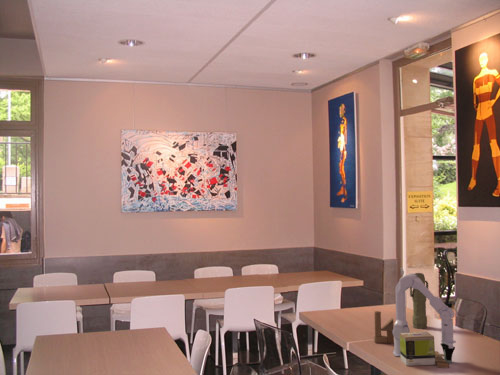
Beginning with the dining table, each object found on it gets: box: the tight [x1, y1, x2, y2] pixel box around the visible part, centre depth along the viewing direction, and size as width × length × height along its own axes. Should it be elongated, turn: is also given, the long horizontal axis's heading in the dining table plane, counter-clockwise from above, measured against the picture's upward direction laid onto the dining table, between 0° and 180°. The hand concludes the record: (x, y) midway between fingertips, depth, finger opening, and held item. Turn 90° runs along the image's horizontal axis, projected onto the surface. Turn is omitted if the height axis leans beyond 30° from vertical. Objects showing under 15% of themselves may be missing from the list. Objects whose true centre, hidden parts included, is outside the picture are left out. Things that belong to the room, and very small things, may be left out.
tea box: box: [400, 331, 436, 367], centre depth 284 cm, size 15×10×15 cm, turn 92°
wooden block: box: [373, 310, 394, 344], centre depth 324 cm, size 4×11×18 cm, turn 85°
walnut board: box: [435, 350, 450, 369], centre depth 287 cm, size 24×5×2 cm, turn 174°
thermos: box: [409, 272, 429, 330], centre depth 360 cm, size 9×12×35 cm
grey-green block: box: [437, 350, 453, 364], centre depth 285 cm, size 4×7×6 cm, turn 84°
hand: (447, 358), depth 284 cm, fingers closed on grey-green block, 3 cm apart
